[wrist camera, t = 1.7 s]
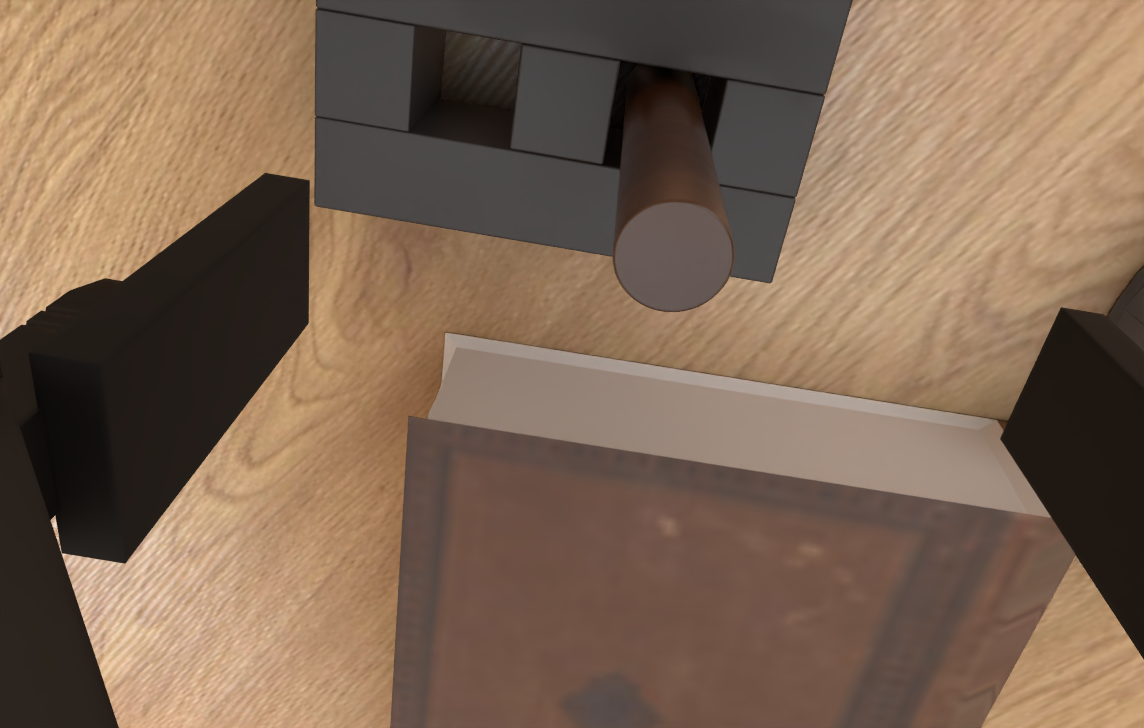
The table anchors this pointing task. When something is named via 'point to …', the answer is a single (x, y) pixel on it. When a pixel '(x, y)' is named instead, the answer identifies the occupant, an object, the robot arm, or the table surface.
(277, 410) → the table surface
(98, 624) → the table surface
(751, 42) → the holder
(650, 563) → the book
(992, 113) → the table surface
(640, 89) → the stirring stick
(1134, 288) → the bowl
